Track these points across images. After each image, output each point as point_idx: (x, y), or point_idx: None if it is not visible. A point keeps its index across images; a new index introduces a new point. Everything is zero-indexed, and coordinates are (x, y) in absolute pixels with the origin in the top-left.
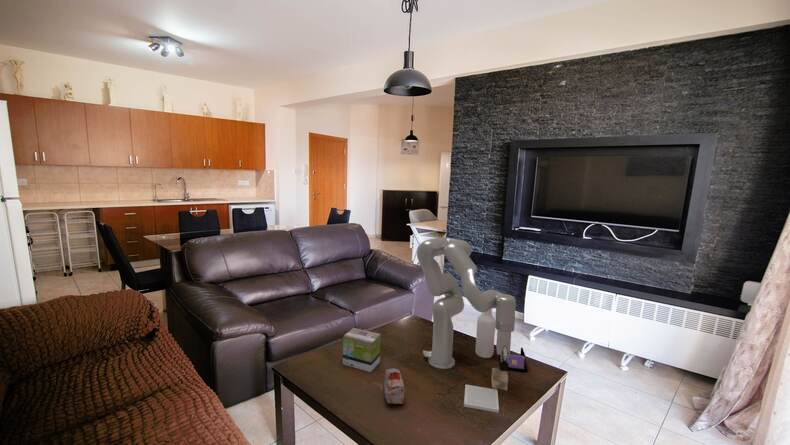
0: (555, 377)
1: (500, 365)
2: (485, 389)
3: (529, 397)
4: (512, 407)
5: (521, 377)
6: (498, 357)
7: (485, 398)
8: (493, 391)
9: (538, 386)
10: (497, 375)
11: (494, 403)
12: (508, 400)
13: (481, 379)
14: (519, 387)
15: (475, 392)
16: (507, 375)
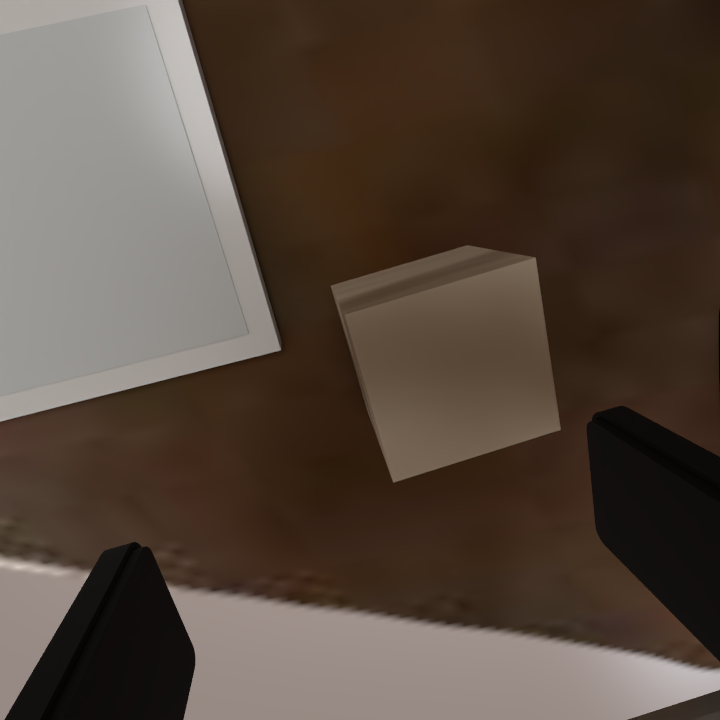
0: (699, 656)
1: (60, 648)
2: (204, 237)
3: (358, 571)
4: (137, 497)
5: None
6: (614, 415)
7: (33, 276)
8: (219, 324)
9: (539, 593)
10: (365, 364)
11: (14, 378)
12: (218, 451)
13: (436, 140)
14: (462, 487)
15: (69, 139)
16: (426, 467)
